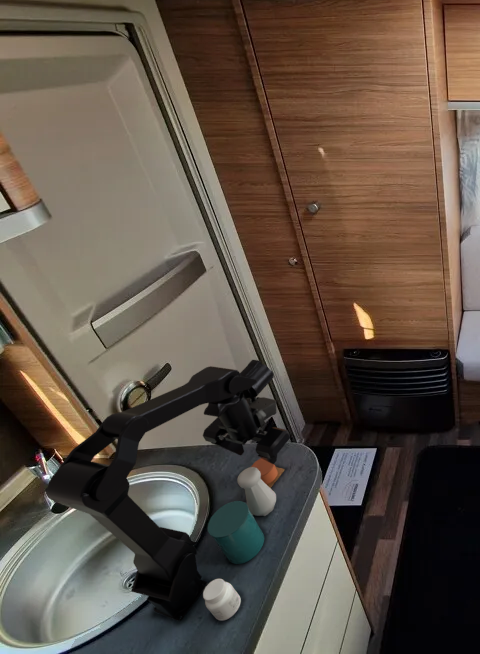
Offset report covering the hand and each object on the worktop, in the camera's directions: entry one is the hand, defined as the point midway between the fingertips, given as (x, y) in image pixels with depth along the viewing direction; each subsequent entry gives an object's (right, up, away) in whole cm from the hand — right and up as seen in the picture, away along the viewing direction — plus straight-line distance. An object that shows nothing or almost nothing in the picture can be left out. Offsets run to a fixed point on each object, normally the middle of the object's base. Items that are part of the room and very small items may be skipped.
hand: (258, 457), depth 98 cm
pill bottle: (+5, -21, -19) cm, 28 cm away
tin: (+3, -15, -10) cm, 18 cm away
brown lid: (0, -6, +4) cm, 7 cm away
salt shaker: (+3, -11, -2) cm, 11 cm away
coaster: (0, -7, +4) cm, 8 cm away
